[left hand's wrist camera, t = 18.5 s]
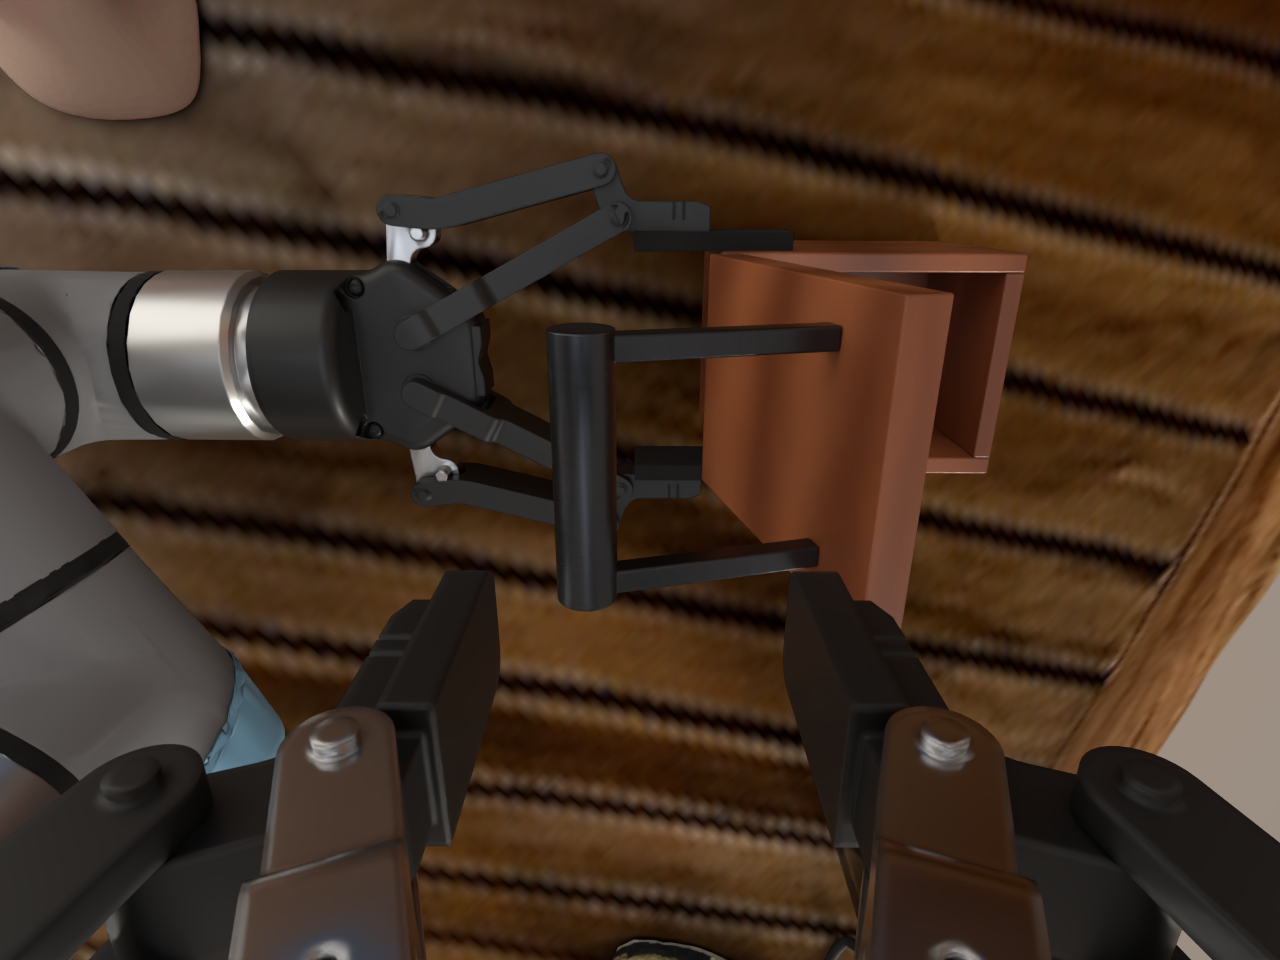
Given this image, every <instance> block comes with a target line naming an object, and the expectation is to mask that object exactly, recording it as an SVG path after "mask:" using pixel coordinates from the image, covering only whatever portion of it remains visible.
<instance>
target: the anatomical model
mask: <svg viewBox="0 0 1280 960" xmlns="http://www.w3.org/2000/svg"><path fill="white" fill-rule="evenodd" d="M200 63H201V57H200V38H199V20H198V10H197V3H196V0H0V67H1V68H2V69H3V70H4V72H5V73H6V74H7V75H8V76H9V77H10V78H11V79H12V80H13V81H14V82H15V83H16V84H17V85H18V86H20V87H21V88H22V89H23V90H24V91H25V92H27V93H28V94H29V95H30V96H32V97H33V98H35V99H36V100H38V101H40V102H41V103H43V104H45V105H47V106H49V107H51V108H54V109H56V110H58V111H61V112H65V113H68V114H71V115H76V116H81V117H86V118H93V119H105V120H132V119H144V118H153V117H159V116H164V115H168V114H172V113H175V112H178V111H180V110H181V109H183V108H185V107H186V106H188V105H189V104H190V103H191V102H192V100H193V99H194V97H195V96H196V93H197V90H198V87H199V81H200Z"/></svg>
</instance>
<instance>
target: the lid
mask: <svg viewBox="0 0 1280 960" xmlns="http://www.w3.org/2000/svg"><path fill="white" fill-rule="evenodd" d="M953 298H954V294H953V293H949V292H944V291H938V290H933V289H928V288H922V287H917V286H912V285H906V284H901V283H896V282H890V281H885V280H879V279H874V278H869V277H863V276H858V275H853V274H847V273H842V272H837V271H831V270H826V269H820V268H815V267H810V266H804V265H799V264H794V263H788V262H783V261H778V260H772V259H767V258H761V257H756V256H751V255H745V254H740V253H736V254H711V255H710V273H709V300H708V326H707V327H699V328H675V329H651V330H627V331H615V328H614V327H612V326H609V325H605V324H597V323H568V324H559V325H554V326H551V327H549V328H547V330H546V334H547V357H548V381H549V404H550V428H551V451H552V474H553V498H554V521H555V544H556V568H557V591H558V599H559V601H560V603H561V604H562V605H563V606H565V607H567V608H569V609H572V610H577V611H595V610H600V609H603V608H606V607H608V606H610V605H611V604H613V603H614V602H615V600H616V598H617V595H618V593H621V592H629V591H636V590H644V589H652V588H659V587H667V586H674V585H682V584H690V583H697V582H705V581H712V580H720V579H728V578H735V577H743V576H750V575H758V574H766V573H773V572H781V571H789V572H790V573H791V574H792V572H793V571H837V572H838V573H839V574H840V576H841V578H842V580H843V582H844V584H845V586H846V587H847V589H848V591H849V593H850V595H851V597H852V599H853V600H871V601H872V602H873V603H875V604H876V605H877V606H879V607H880V608H881V609H883V610H884V611H885V612H887V613H888V614H889V615H891V616H892V617H893V618H894V619H895V621H896V623H897V624H898V626H899V628H900V629H901V627H902V621H903V614H904V608H905V602H906V595H907V589H908V583H909V576H910V570H911V564H912V558H913V551H914V545H915V539H916V532H917V526H918V520H919V513H920V507H921V501H922V494H923V488H924V482H925V475H926V469H927V463H928V456H929V450H930V444H931V437H932V431H933V425H934V418H935V412H936V406H937V399H938V393H939V387H940V381H941V374H942V368H943V362H944V355H945V349H946V343H947V336H948V330H949V324H950V317H951V311H952V305H953ZM704 358H706V379H705V406H704V433H703V459H702V480H703V481H704V482H705V483H706V484H707V485H708V486H709V488H710V489H711V490H712V491H713V492H714V493H715V494H716V495H717V496H718V497H719V498H720V499H721V500H722V501H723V502H724V503H725V504H726V505H727V506H728V507H729V509H730V510H731V511H732V512H733V513H734V514H735V515H736V516H737V517H738V518H739V519H740V520H741V521H742V522H743V523H744V524H745V525H746V526H747V527H748V529H749V530H750V531H751V532H752V533H753V534H754V535H755V536H756V537H757V538H758V539H759V540H760V541H761V542H762V544H753V545H745V546H737V547H728V548H720V549H712V550H704V551H695V552H687V553H679V554H670V555H662V556H654V557H645V558H637V559H629V560H621V561H617V470H616V363H628V362H647V361H666V360H685V359H704Z"/></svg>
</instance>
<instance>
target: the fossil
mask: <svg viewBox="0 0 1280 960" xmlns="http://www.w3.org/2000/svg"><path fill="white" fill-rule="evenodd" d="M612 960H726V959H724V958H722V957H720V956H718V955H716V954H714V953H711V952H708V951H706V950H703V949H701V948H697V947H693V946H689V945H682V944H677V943H663V942H659V941H656V940H632V941H630V942H628V943H626V944H624V945H621V946H619V947H618V949H617V951H616V953H615V954H614V956H613V958H612Z"/></svg>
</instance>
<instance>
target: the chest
mask: <svg viewBox="0 0 1280 960" xmlns="http://www.w3.org/2000/svg"><path fill="white" fill-rule="evenodd" d="M736 253H740V254H745V255H751V256H756V257H761V258H767V259H772V260H778V261H783V262H788V263H794V264H799V265H804V266H810V267H815V268H820V269H826V270H831V271H837V272H842V273H847V274H853V275H858V276H863V277H869V278H874V279H879V280H885V281H890V282H896V283H901V284H906V285H912V286H917V287H922V288H928V289H933V290H938V291H944V292H949V293H953V294H954V298H953V305H952V311H951V317H950V324H949V330H948V336H947V343H946V349H945V355H944V362H943V368H942V374H941V381H940V387H939V393H938V399H937V406H936V412H935V418H934V425H933V431H932V437H931V444H930V450H929V456H928V463H927V469H926V473H986V472H987V467H988V462H989V458H988V457H989V456H990V452H991V447H992V441H993V436H994V431H995V426H996V420H997V415H998V410H999V405H1000V399H1001V394H1002V389H1003V384H1004V378H1005V373H1006V368H1007V363H1008V357H1009V352H1010V347H1011V342H1012V336H1013V331H1014V326H1015V321H1016V315H1017V310H1018V305H1019V300H1020V295H1021V289H1022V284H1023V279H1024V273H1023V272H1024V271H1025V268H1026V263H1027V257H1028V254H1026V253H1019V252H1013V251H1006V250H999V249H992V248H985V247H978V246H972V245H965V244H958V243H951V242H945V241H822V240H794V241H793V251H705V253H704V282H703V310H702V327H707V326H708V300H709V273H710V255H711V254H736ZM705 379H706V358H704V359H701V368H700V396H699V418H700V421H701V425H702V429H703V433H704V406H705Z"/></svg>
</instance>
